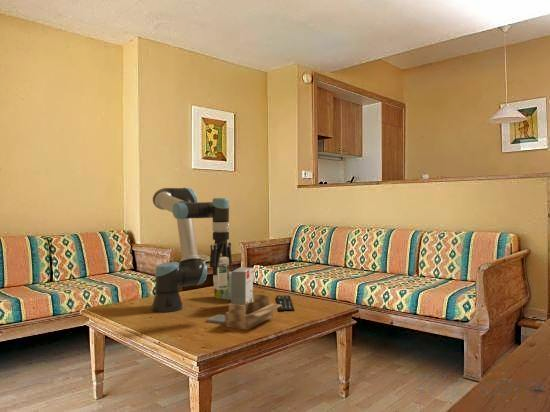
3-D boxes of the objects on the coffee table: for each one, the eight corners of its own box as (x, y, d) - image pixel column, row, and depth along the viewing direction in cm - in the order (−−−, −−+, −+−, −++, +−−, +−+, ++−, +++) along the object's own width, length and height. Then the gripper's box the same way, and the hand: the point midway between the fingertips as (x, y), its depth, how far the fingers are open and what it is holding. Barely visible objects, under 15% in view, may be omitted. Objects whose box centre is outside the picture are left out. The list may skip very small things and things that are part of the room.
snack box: (250, 300, 244) (249, 273, 243) (244, 302, 239) (244, 274, 239) (219, 296, 255) (219, 270, 254) (213, 298, 250) (213, 271, 250)
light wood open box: (225, 326, 193) (225, 303, 193) (251, 313, 214) (251, 293, 214) (258, 331, 186) (258, 307, 186) (282, 317, 207) (282, 296, 207)
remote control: (289, 298, 250) (289, 294, 250) (294, 312, 218) (294, 308, 218) (276, 298, 250) (276, 294, 250) (278, 312, 218) (278, 308, 218)
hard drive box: (245, 312, 218) (245, 272, 217) (230, 311, 219) (230, 271, 219) (253, 304, 233) (253, 267, 233) (239, 304, 235) (239, 266, 234)
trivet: (206, 321, 201) (206, 319, 201) (218, 316, 210) (218, 314, 210) (224, 324, 197) (224, 321, 197) (236, 318, 206) (236, 316, 206)
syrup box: (217, 290, 199) (217, 258, 199) (213, 287, 204) (213, 256, 204) (229, 288, 202) (229, 257, 202) (224, 286, 207) (224, 256, 207)
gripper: (215, 233, 192) (215, 285, 192) (239, 230, 210) (239, 277, 210) (200, 232, 195) (201, 283, 196) (226, 229, 214) (226, 276, 214)
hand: (221, 280), depth 203 cm, fingers closed on syrup box, 8 cm apart
